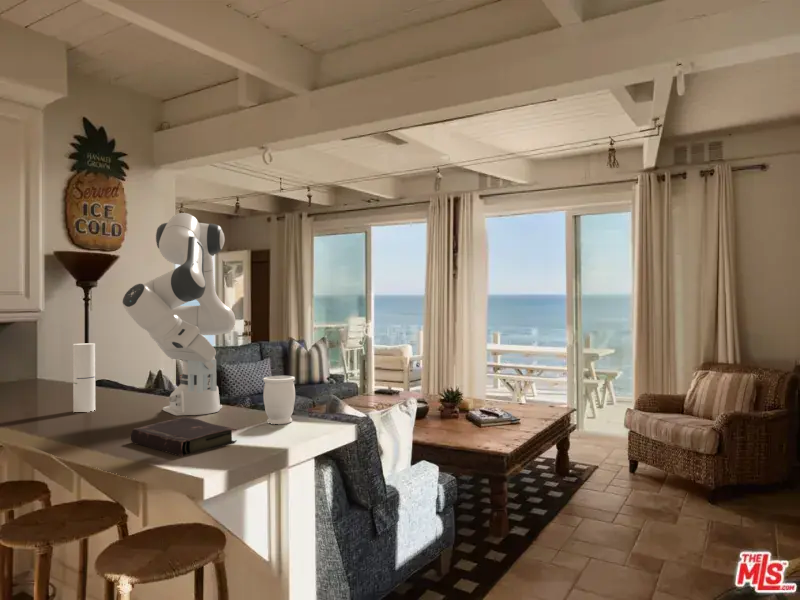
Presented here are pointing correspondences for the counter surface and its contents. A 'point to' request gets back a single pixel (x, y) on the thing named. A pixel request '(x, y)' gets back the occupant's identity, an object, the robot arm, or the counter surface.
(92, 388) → the miniature refrigerator
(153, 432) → the diary
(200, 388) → the stool
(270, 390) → the jar
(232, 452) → the counter surface
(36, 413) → the counter surface
